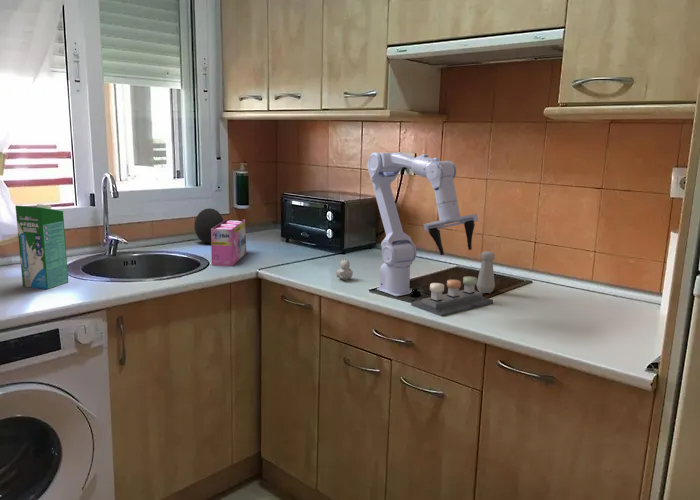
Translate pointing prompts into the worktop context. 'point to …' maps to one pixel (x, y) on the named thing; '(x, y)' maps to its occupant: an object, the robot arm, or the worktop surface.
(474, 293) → the switch panel
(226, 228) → the gum box
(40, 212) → the milk carton
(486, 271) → the salt shaker
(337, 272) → the beige lumpy figurine
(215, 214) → the decorative egg
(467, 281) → the sage knob
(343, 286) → the worktop surface
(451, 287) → the terracotta knob
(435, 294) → the cream knob
